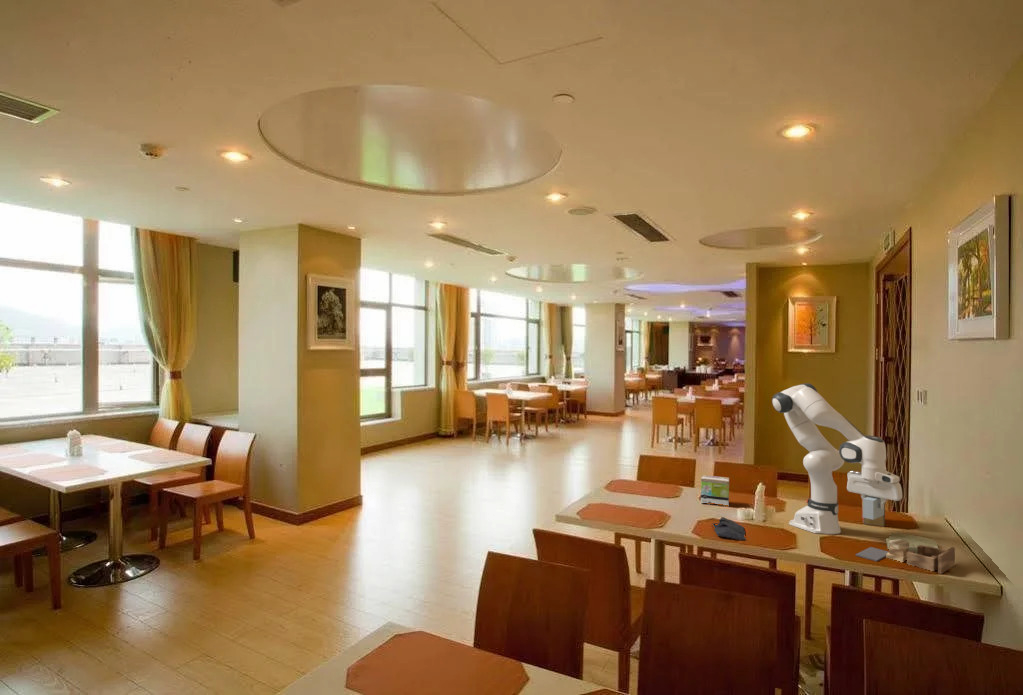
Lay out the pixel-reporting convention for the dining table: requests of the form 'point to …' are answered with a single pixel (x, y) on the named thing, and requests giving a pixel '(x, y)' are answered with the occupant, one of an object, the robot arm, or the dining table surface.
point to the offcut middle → (898, 551)
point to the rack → (932, 558)
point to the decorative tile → (912, 541)
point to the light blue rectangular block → (872, 508)
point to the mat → (872, 554)
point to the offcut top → (899, 544)
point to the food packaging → (875, 522)
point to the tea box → (715, 490)
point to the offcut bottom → (896, 557)
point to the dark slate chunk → (729, 529)
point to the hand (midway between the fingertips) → (873, 506)
